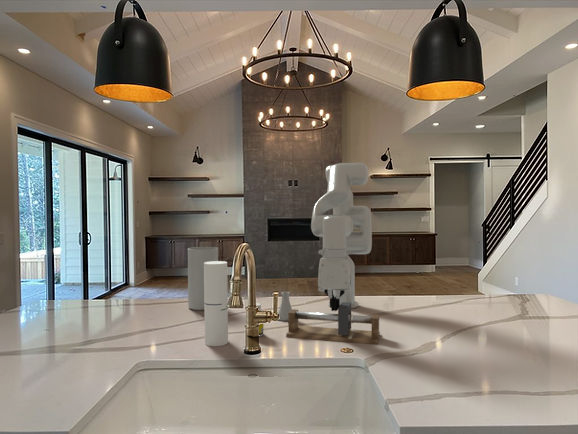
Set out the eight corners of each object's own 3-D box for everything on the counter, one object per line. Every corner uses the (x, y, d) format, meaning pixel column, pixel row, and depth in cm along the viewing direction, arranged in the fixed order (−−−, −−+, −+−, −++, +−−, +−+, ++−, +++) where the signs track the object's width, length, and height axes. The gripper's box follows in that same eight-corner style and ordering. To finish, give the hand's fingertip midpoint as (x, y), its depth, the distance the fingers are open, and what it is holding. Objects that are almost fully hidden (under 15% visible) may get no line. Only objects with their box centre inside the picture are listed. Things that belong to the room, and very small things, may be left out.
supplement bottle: (244, 334, 138) (243, 303, 138) (259, 331, 140) (259, 301, 140) (249, 338, 133) (249, 307, 133) (265, 336, 135) (265, 305, 135)
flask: (296, 316, 160) (295, 290, 160) (294, 321, 153) (294, 294, 153) (277, 316, 161) (277, 290, 160) (274, 321, 154) (274, 294, 153)
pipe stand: (286, 336, 135) (286, 314, 135) (294, 328, 144) (294, 307, 144) (377, 344, 127) (377, 320, 127) (379, 334, 136) (379, 312, 136)
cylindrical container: (202, 340, 131) (201, 261, 131) (224, 337, 134) (224, 260, 134) (207, 347, 125) (206, 264, 124) (230, 344, 128) (229, 263, 127)
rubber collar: (338, 334, 131) (338, 308, 131) (342, 327, 139) (342, 302, 139) (347, 335, 130) (347, 308, 130) (351, 327, 138) (351, 302, 138)
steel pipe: (292, 319, 138) (292, 311, 138) (294, 317, 140) (294, 309, 140) (375, 325, 130) (375, 317, 130) (375, 323, 133) (375, 314, 133)
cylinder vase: (223, 304, 181) (222, 247, 180) (211, 311, 169) (210, 250, 168) (196, 303, 184) (195, 246, 183) (183, 309, 172) (182, 249, 171)
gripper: (309, 254, 133) (309, 311, 134) (356, 255, 129) (356, 314, 130) (314, 252, 141) (314, 306, 141) (359, 253, 136) (359, 308, 137)
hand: (334, 309), depth 135 cm, fingers closed
